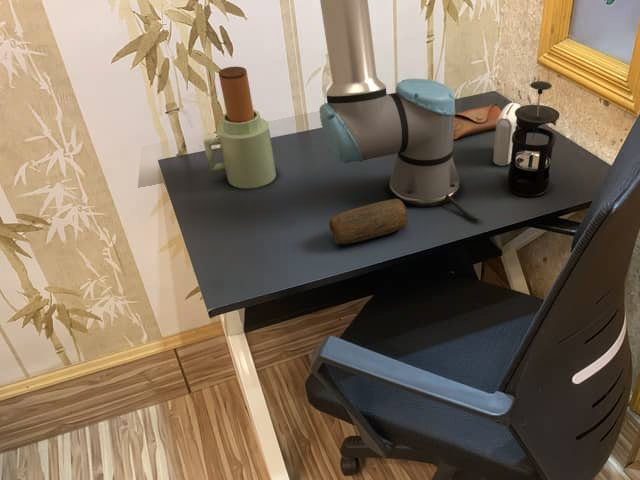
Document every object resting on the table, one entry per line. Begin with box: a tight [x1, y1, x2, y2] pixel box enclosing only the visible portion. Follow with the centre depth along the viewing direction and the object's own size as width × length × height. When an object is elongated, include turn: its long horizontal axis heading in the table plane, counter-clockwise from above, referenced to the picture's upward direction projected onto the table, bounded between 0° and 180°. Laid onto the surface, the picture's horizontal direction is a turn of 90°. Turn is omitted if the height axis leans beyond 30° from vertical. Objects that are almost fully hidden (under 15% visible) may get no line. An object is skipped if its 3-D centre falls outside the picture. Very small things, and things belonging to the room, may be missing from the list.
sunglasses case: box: [453, 103, 502, 140], centre depth 159 cm, size 18×7×7 cm, turn 118°
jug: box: [203, 108, 277, 189], centre depth 137 cm, size 11×14×14 cm
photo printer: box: [492, 102, 522, 167], centre depth 144 cm, size 10×4×12 cm, turn 157°
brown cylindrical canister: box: [218, 66, 255, 123], centre depth 130 cm, size 6×6×12 cm
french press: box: [505, 80, 561, 198], centre depth 130 cm, size 12×9×23 cm
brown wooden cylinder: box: [328, 198, 408, 245], centre depth 121 cm, size 15×7×7 cm, turn 117°
